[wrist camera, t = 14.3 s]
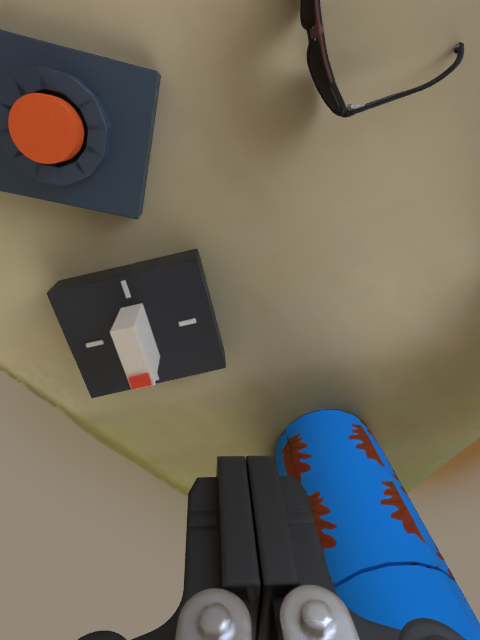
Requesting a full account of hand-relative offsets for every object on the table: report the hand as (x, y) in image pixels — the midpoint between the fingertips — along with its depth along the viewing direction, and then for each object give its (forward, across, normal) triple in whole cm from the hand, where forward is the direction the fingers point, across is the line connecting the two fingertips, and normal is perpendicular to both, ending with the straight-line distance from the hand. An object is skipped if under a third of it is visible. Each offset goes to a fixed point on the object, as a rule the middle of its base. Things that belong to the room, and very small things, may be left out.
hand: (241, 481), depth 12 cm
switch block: (+27, +11, -8) cm, 30 cm away
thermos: (+27, -12, +22) cm, 37 cm away
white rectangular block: (+24, +6, +7) cm, 25 cm away
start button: (+23, +11, -8) cm, 27 cm away
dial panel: (+27, +6, +7) cm, 28 cm away
